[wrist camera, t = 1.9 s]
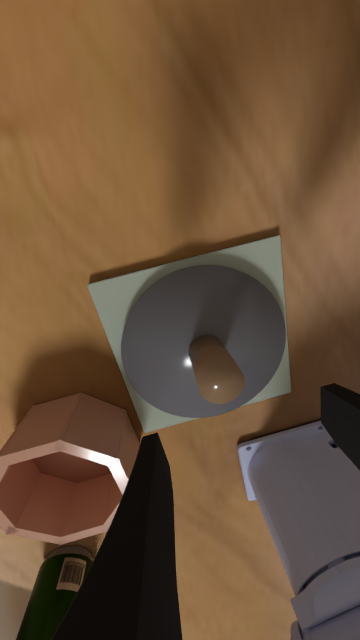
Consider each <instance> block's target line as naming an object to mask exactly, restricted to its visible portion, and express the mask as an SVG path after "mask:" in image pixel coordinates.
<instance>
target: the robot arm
mask: <svg viewBox="0 0 360 640" xmlns="http://www.w3.org/2000/svg"><path fill="white" fill-rule="evenodd" d="M237 450H238V455H239V460H240V465H241V470H242V475H243V480H244V485H245V490H246V495H247V498H248V500H250V501H253V500H257V502H258V504H259V506H260V509H261V511H262V514H263V516H264V519H265V521H266V524H267V526H268V529H269V531H270V534H271V536H272V539H273V541H274V544H275V546H276V549H277V551H278V554H279V556H280V559H281V561H282V564H283V566H284V569H285V571H286V574H287V576H288V579H289V581H290V584H291V586H292V588H293V591H294V593H295V597H294V598H292V599H291V604H292V606H293V609H294V611H295V614H296V617H297V619H298V620H297V621H295V622H293V623H292V625H291V639H290V640H360V394H358V393H355V392H353V391H351V390H349V389H346V388H344V387H342V386H340V385H337V384H335V383H333V384H330V385H326V386H323V387H321V421H317V422H314V423H310V424H307V425H303V426H300V427H296V428H293V429H289V430H286V431H282V432H278V433H275V434H271V435H268V436H264V437H261V438H257V439H254V440H250V441H247V442H243V443H240V444H239V445H238V446H237ZM51 640H182V632H181V622H180V612H179V602H178V593H177V580H176V562H175V532H174V503H173V489H172V481H171V473H170V466H169V463H168V460H167V457H166V455H165V452H164V449H163V446H162V444H161V441H160V438H159V435H158V433H154V434H151V435H147V436H144V437H143V438H142V440H141V443H140V447H139V450H138V453H137V457H136V460H135V463H134V466H133V469H132V472H131V474H130V477H129V480H128V482H127V485H126V488H125V491H124V493H123V496H122V498H121V501H120V503H119V506H118V508H117V510H116V513H115V515H114V518H113V520H112V522H111V525H110V527H109V529H108V531H107V534H106V536H105V538H104V540H103V542H102V544H101V547H100V549H99V551H98V553H97V555H96V557H95V559H94V561H93V563H92V565H91V567H90V569H89V571H88V573H87V575H86V577H85V578H84V580H83V582H82V584H81V586H80V588H79V590H78V592H77V594H76V596H75V598H74V599H73V601H72V603H71V605H70V607H69V609H68V610H67V612H66V614H65V616H64V618H63V619H62V621H61V623H60V625H59V626H58V628H57V630H56V631H55V633H54V635H53V636H52V638H51Z"/></svg>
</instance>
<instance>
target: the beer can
mask: <svg viewBox="0 0 360 640" xmlns="http://www.w3.org/2000/svg"><path fill="white" fill-rule="evenodd" d="M93 561H94V560H93V555H92V553H91V552H90V551H89V550H88V549H85V548H83V547H79V546H65V547H60V548H58V549H55V550H53V551H52V552H51V553H50V554H49V555H48V556H47V558H46V559H45V561H44V562H43V564H42V565H41V567H40V570H39V572H38V575H37V578H36V581H35V584H34V587H33V590H32V593H31V596H30V599H29V602H28V605H27V608H26V611H25V614H24V617H23V620H22V623H21V626H20V629H19V632H18V635H17V638H16V640H51V638H52V636H53V635H54V633H55V631H56V630H57V628H58V626H59V625H60V623H61V621H62V619H63V618H64V616H65V614H66V612H67V610H68V609H69V607H70V605H71V603H72V601H73V599H74V598H75V596H76V594H77V592H78V590H79V588H80V586H81V584H82V582H83V580H84V578H85V577H86V575H87V573H88V571H89V569H90V567H91V565H92V563H93Z"/></svg>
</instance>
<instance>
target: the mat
mask: <svg viewBox="0 0 360 640" xmlns="http://www.w3.org/2000/svg"><path fill="white" fill-rule="evenodd" d="M197 265H220V266H225V267H229V268H233V269H236V270H238V271H241V272H243V273H246V274H248V275H250V276H251V277H253V278H255V279H257V280H258V281H259V282H260V283H262V284H263V285H264V286H265V287H266V288H267V289H268V290H269V291H270V292H271V293H272V295H273V296H274V298H275V299H276V300H277V302H278V304H279V306H280V308H281V310H282V313H283V317H284V320H285V327H286V343H285V350H284V353H283V357H282V360H281V362H280V365H279V367H278V369H277V371H276V373H275V374H274V376H273V377H272V379H271V380H270V382H269V383H268V384H267V385H266V386H265V387H264V389H263V390H262V391H261V392H260V393H258V394H257V395H256V396H255V397H254V398H252V399H251V400H250V401H248V402H247V403H245V404H244V405H247V404H251V403H254V402H258V401H262V400H265V399H269V398H272V397H276V396H280V395H283V394H287V393H290V392H291V381H290V367H289V353H288V339H287V326H286V312H285V298H284V284H283V270H282V256H281V242H280V235H276V236H272V237H268V238H264V239H260V240H256V241H253V242H249V243H245V244H241V245H237V246H233V247H229V248H225V249H221V250H217V251H214V252H210V253H206V254H202V255H198V256H194V257H190V258H186V259H182V260H179V261H175V262H171V263H167V264H163V265H159V266H155V267H151V268H147V269H143V270H140V271H136V272H132V273H128V274H124V275H120V276H116V277H112V278H108V279H105V280H101V281H97V282H93V283H89V284H88V285H87V286H88V289H89V291H90V294H91V296H92V299H93V302H94V304H95V307H96V309H97V312H98V314H99V317H100V320H101V322H102V325H103V327H104V330H105V333H106V335H107V338H108V340H109V343H110V345H111V348H112V351H113V353H114V356H115V358H116V361H117V363H118V366H119V369H120V371H121V374H122V376H123V379H124V381H125V384H126V387H127V389H128V392H129V394H130V397H131V399H132V402H133V405H134V407H135V410H136V412H137V415H138V417H139V420H140V423H141V425H142V428H143V430H144V433H147V432H150V431H154V430H157V429H161V428H165V427H168V426H172V425H175V424H179V423H182V422H186V421H190V420H193V419H197V418H188V417H180V416H176V415H172V414H169V413H166V412H163V411H161V410H159V409H157V408H155V407H154V406H152V405H150V404H149V403H147V402H146V401H145V400H144V399H143V398H142V397H140V395H139V394H138V393H137V392H136V391H135V390H134V388H133V387H132V385H131V384H130V382H129V380H128V378H127V376H126V374H125V371H124V368H123V364H122V358H121V340H122V334H123V330H124V327H125V324H126V320H127V318H128V316H129V313H130V311H131V309H132V308H133V306H134V305H135V303H136V301H137V300H138V299H139V298H140V296H141V295H142V294H143V293H144V292H145V291H146V290H147V289H148V288H149V287H150V286H151V285H153V284H154V283H155V282H157V281H158V280H160V279H161V278H163V277H164V276H166V275H168V274H170V273H172V272H174V271H177V270H180V269H183V268H186V267H191V266H197ZM244 405H242V406H244Z"/></svg>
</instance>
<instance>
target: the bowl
mask: <svg viewBox="0 0 360 640" xmlns="http://www.w3.org/2000/svg"><path fill="white" fill-rule="evenodd" d="M139 447H140V442H139V441H138V438H137V436H136V433H135V431H134V429H133V426H132V424H131V421H130V419H129V416H128V414H127V410H126V409H122V408H120V407H117V406H115V405H112V404H110V403H107V402H104V401H102V400H99V399H97V398H94V397H92V396H89V395H86V394H84V393H83V392H82V393H81V392H80V393H78V394H74V395H71V396H67V397H63V398H59V399H56V400H52V401H48V402H45V403H41V404H37V405H33V406H32V407H31V408H30V410H29V411H28V412H27V414H26V415H25V417H24V418H23V419H22V421H21V422H20V424H19V425H18V426H17V428H16V429H15V431H14V432H13V434H12V435H11V436H10V438H9V439H8V441H7V442H6V443H5V445H4V446H3V448H2V449H1V450H0V527H1V528H2V529H3V531H4V532H5V534H7V535H8V534H9V535H14V536H20V537H25V538H30V539H35V540H40V541H45V542H50V543H55V544H59V545H62V544H65V543H68V542H72V541H75V540H79V539H82V538H86V537H89V536H93V535H96V534H99V533H103V532H106V531H108V529H109V527H110V525H111V522H112V520H113V518H114V515H115V513H116V510H117V508H118V506H119V503H120V501H121V498H122V496H123V493H124V491H125V488H126V485H127V482H128V480H129V477H130V474H131V472H132V469H133V466H134V463H135V460H136V457H137V453H138V450H139Z"/></svg>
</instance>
